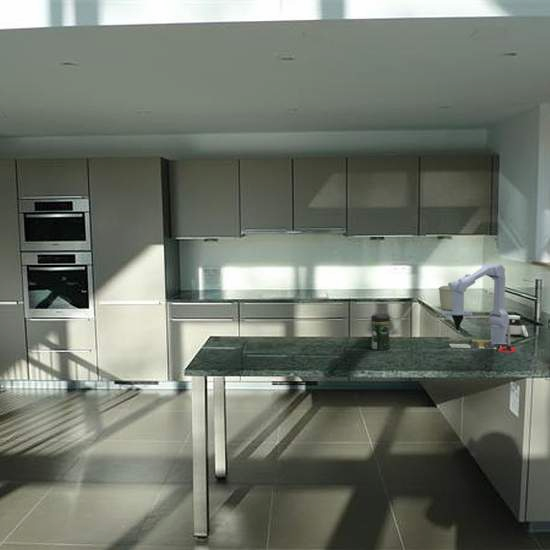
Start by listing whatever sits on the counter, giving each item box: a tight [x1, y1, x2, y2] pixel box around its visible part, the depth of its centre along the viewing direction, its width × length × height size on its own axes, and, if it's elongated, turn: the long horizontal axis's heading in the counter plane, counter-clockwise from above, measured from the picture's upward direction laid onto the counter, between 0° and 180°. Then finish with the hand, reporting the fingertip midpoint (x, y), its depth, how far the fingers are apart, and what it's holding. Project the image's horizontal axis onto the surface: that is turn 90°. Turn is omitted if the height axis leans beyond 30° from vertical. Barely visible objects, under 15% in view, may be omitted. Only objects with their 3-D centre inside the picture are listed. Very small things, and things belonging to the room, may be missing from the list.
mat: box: [448, 343, 498, 350], centre depth 301 cm, size 9×23×1 cm, turn 80°
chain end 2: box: [483, 341, 497, 349], centre depth 299 cm, size 8×6×2 cm
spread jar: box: [505, 314, 529, 338], centre depth 328 cm, size 12×11×12 cm
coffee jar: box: [370, 313, 391, 351], centre depth 298 cm, size 10×8×19 cm
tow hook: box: [497, 326, 517, 354], centre depth 289 cm, size 8×13×9 cm
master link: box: [471, 338, 490, 347], centre depth 299 cm, size 3×8×4 cm, turn 80°
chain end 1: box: [468, 340, 480, 349], centre depth 300 cm, size 8×4×2 cm, turn 170°
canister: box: [438, 281, 453, 311], centre depth 431 cm, size 18×18×21 cm
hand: (457, 329), depth 298 cm, fingers closed
